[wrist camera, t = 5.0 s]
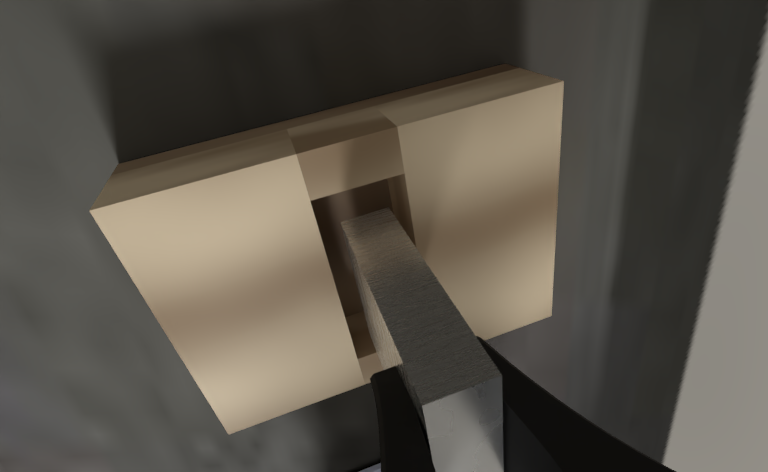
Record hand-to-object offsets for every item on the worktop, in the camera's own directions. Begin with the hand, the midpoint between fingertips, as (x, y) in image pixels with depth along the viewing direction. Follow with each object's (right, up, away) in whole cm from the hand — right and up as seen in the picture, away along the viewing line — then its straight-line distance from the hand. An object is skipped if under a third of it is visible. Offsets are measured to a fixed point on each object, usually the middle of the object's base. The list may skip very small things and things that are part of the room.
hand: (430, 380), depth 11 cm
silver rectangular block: (-1, +2, +4) cm, 5 cm away
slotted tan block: (-2, +4, +7) cm, 8 cm away
